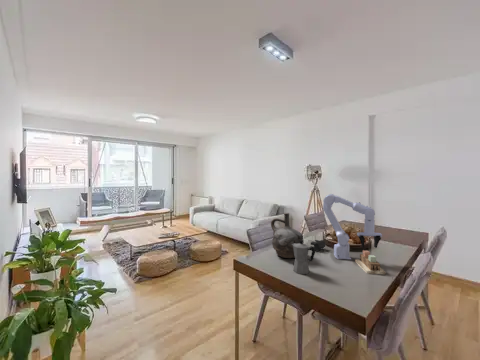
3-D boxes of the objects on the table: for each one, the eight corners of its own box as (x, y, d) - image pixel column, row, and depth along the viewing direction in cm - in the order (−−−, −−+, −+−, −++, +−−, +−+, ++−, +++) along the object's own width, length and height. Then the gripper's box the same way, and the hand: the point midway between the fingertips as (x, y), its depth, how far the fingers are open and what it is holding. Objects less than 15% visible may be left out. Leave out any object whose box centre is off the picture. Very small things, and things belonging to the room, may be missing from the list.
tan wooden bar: (380, 270, 130) (380, 263, 130) (370, 270, 131) (370, 263, 131) (368, 260, 146) (368, 254, 146) (359, 260, 147) (359, 253, 147)
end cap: (319, 252, 165) (319, 243, 165) (310, 250, 171) (310, 241, 171) (325, 249, 172) (325, 240, 172) (316, 247, 177) (316, 238, 177)
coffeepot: (286, 269, 135) (287, 239, 135) (295, 265, 142) (295, 236, 141) (310, 278, 124) (310, 245, 124) (319, 273, 131) (319, 242, 130)
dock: (366, 273, 130) (366, 270, 130) (355, 261, 148) (355, 259, 148) (385, 274, 129) (385, 271, 129) (371, 262, 147) (371, 259, 147)
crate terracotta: (364, 256, 141) (364, 252, 141) (362, 255, 144) (362, 250, 144) (369, 257, 141) (369, 252, 141) (367, 255, 144) (367, 250, 144)
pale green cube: (370, 261, 133) (370, 256, 133) (368, 260, 136) (368, 255, 136) (376, 262, 133) (376, 257, 133) (373, 260, 136) (373, 255, 136)
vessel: (263, 257, 155) (263, 214, 155) (274, 248, 175) (274, 209, 174) (299, 264, 144) (299, 217, 143) (306, 253, 163) (307, 212, 162)
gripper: (360, 227, 145) (359, 248, 145) (384, 228, 143) (384, 249, 143) (355, 225, 152) (355, 245, 152) (379, 225, 150) (378, 246, 150)
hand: (369, 247), depth 148 cm, fingers open, 7 cm apart
